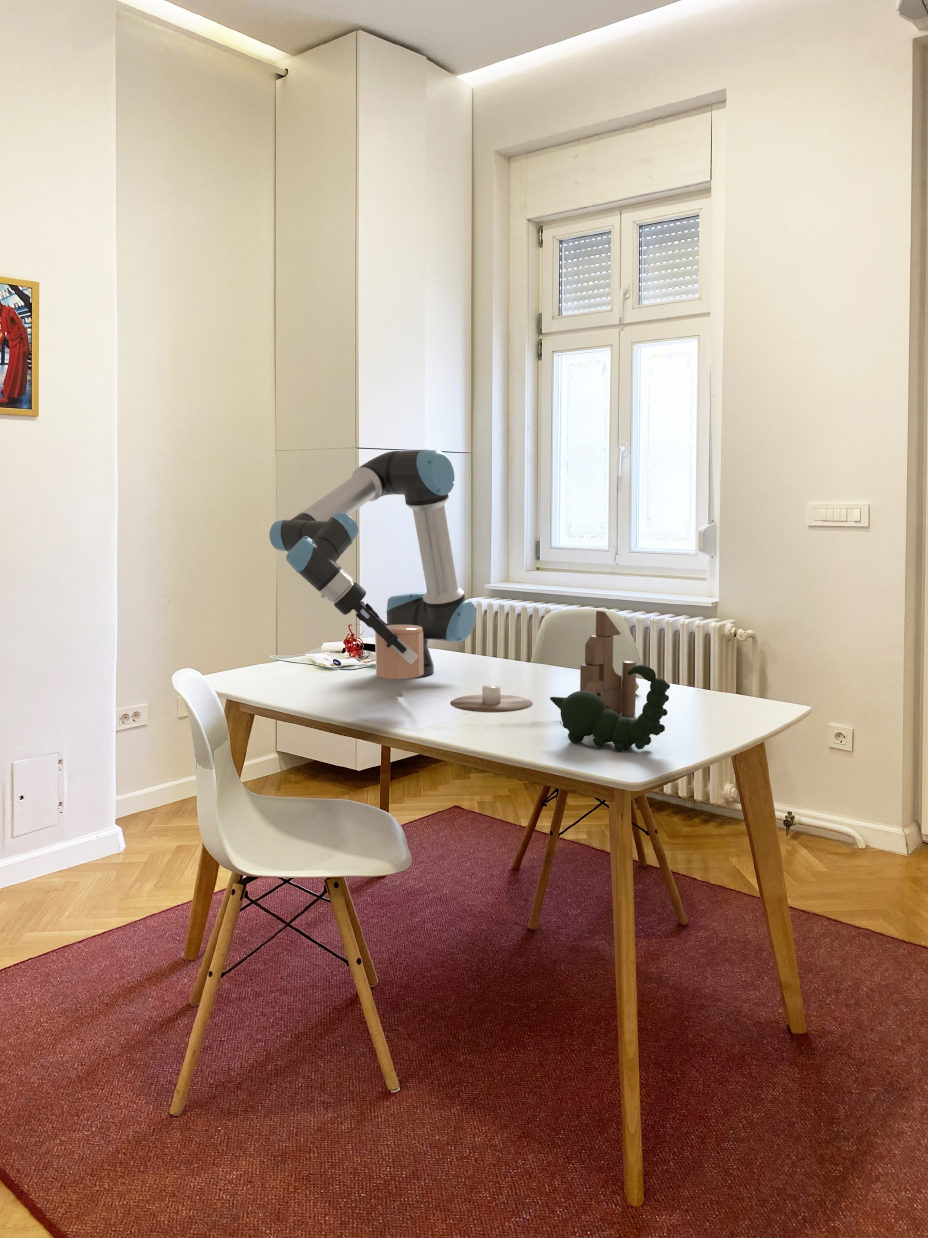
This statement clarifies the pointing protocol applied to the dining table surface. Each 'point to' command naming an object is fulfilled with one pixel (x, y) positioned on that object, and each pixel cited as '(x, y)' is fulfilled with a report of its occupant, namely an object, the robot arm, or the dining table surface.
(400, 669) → the tan domed cylinder
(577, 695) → the toy figurine
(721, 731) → the dining table surface
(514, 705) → the walnut board
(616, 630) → the wooden toy
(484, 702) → the ivory rounded cylinder
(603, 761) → the dining table surface
